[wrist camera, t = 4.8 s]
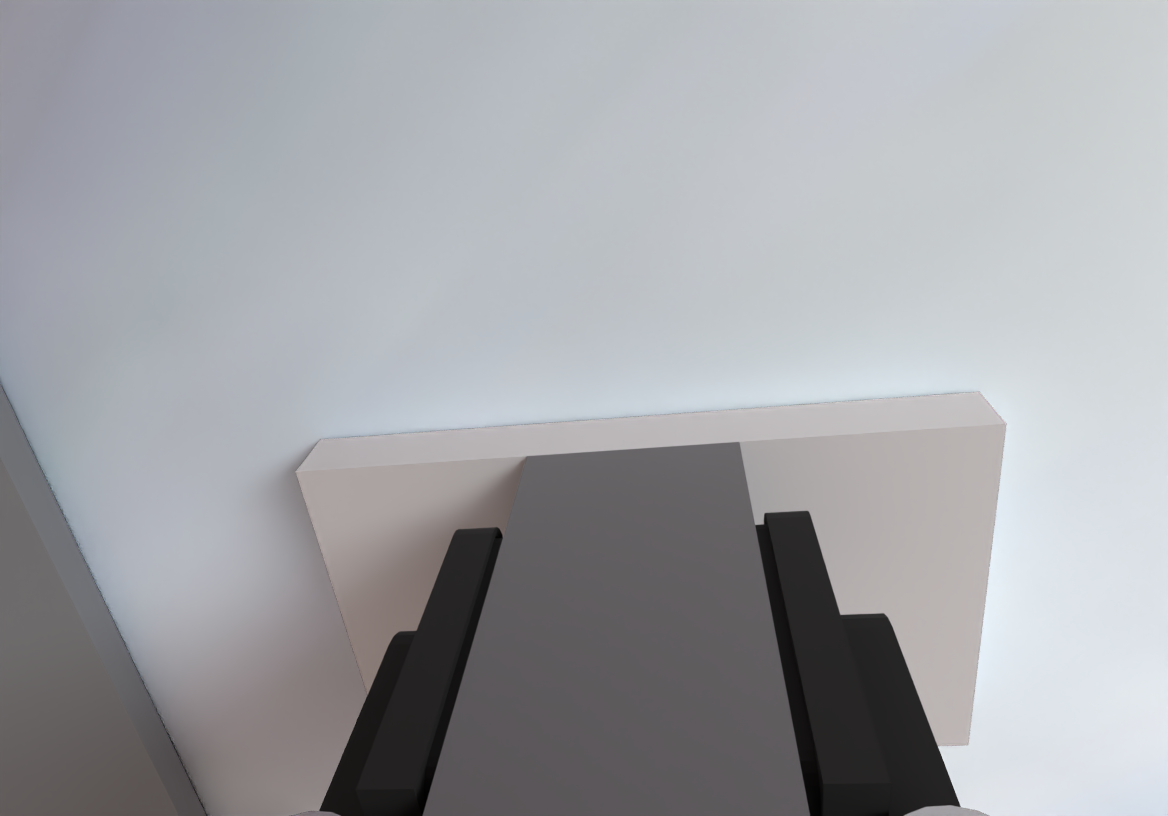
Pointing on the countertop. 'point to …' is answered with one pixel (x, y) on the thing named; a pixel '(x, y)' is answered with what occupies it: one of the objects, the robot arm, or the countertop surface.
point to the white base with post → (661, 587)
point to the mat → (68, 671)
